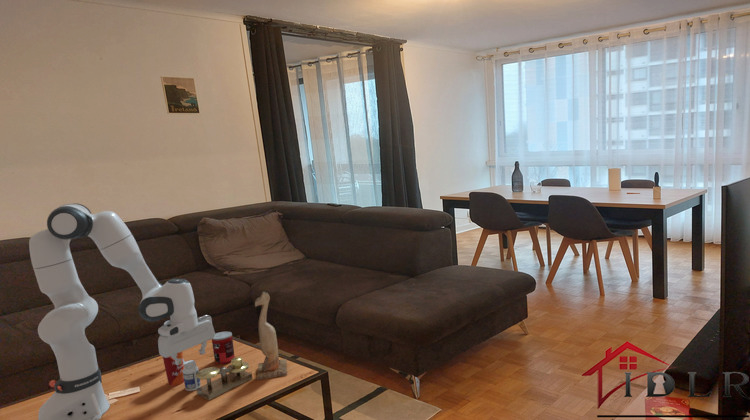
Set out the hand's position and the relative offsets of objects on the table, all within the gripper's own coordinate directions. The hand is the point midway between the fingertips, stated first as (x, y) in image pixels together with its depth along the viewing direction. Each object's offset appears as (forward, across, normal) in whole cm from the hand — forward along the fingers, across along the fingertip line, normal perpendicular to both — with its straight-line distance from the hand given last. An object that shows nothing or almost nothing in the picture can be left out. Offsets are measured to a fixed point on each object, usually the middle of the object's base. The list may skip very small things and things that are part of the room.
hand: (190, 358), depth 177 cm
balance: (+11, -6, +10) cm, 16 cm away
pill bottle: (+11, +1, 0) cm, 11 cm away
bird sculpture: (+12, -23, +16) cm, 30 cm away
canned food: (+11, -19, -10) cm, 25 cm away
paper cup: (+11, +2, -10) cm, 15 cm away
